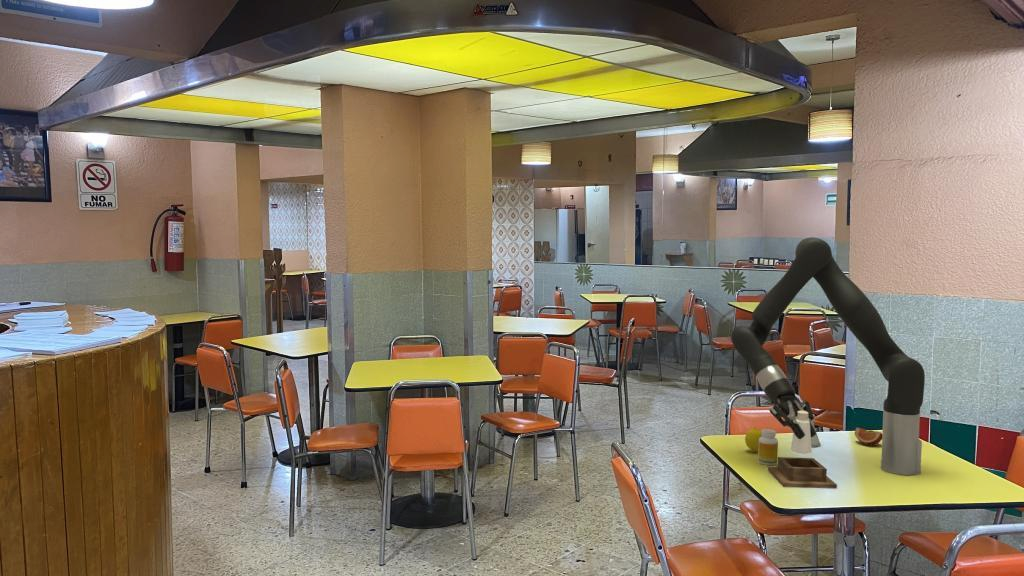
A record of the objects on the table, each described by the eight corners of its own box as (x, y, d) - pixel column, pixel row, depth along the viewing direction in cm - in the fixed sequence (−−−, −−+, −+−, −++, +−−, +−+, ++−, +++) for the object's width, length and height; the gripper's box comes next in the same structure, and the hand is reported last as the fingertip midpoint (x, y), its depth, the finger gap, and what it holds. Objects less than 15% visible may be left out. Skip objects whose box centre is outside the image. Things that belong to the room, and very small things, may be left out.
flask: (791, 442, 233) (792, 412, 232) (809, 440, 235) (810, 411, 234) (806, 448, 226) (807, 417, 225) (825, 446, 228) (826, 416, 227)
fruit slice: (850, 442, 233) (851, 427, 232) (862, 439, 236) (862, 425, 236) (875, 449, 226) (876, 433, 225) (886, 446, 229) (887, 430, 229)
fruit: (744, 448, 225) (745, 423, 224) (762, 450, 223) (763, 425, 223) (745, 453, 220) (745, 428, 219) (764, 455, 218) (764, 429, 218)
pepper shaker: (813, 450, 196) (815, 411, 196) (809, 454, 192) (811, 415, 191) (793, 446, 200) (794, 408, 199) (788, 451, 195) (790, 411, 194)
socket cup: (817, 471, 203) (818, 456, 202) (836, 488, 189) (837, 471, 188) (767, 470, 204) (768, 454, 203) (783, 486, 190) (783, 470, 189)
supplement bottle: (778, 466, 207) (779, 433, 207) (759, 465, 208) (760, 432, 208) (775, 460, 213) (776, 429, 212) (756, 459, 214) (757, 427, 213)
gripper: (764, 378, 198) (797, 432, 188) (800, 375, 204) (834, 426, 194) (749, 393, 203) (781, 446, 193) (785, 389, 209) (817, 440, 199)
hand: (807, 436), depth 194 cm, fingers closed on pepper shaker, 3 cm apart
